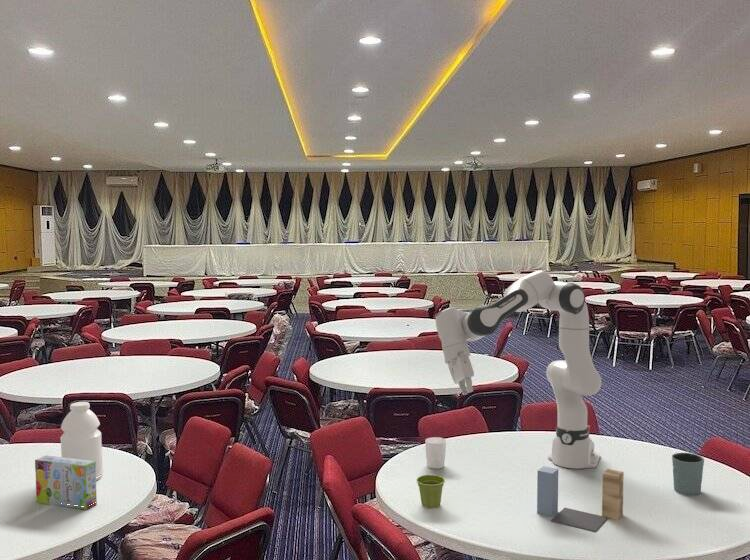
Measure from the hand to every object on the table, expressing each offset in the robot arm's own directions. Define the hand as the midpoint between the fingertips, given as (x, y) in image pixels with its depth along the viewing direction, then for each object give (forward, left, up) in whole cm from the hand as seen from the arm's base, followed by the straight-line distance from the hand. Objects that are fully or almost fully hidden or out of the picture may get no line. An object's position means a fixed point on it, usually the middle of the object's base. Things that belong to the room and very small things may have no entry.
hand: (468, 393), depth 244 cm
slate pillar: (-1, +28, -35) cm, 45 cm away
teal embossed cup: (-45, +61, -35) cm, 84 cm away
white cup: (-19, -24, -35) cm, 46 cm away
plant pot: (+15, -6, -35) cm, 39 cm away
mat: (-1, +39, -35) cm, 52 cm away
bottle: (+65, -125, -35) cm, 145 cm away
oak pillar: (-10, +46, -35) cm, 59 cm away
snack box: (+82, -108, -35) cm, 140 cm away
